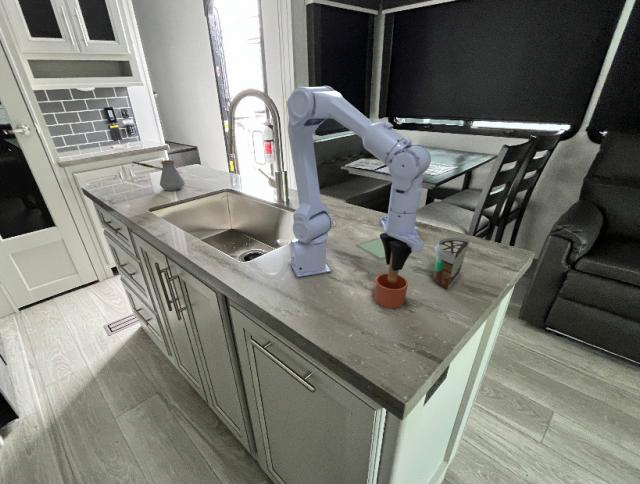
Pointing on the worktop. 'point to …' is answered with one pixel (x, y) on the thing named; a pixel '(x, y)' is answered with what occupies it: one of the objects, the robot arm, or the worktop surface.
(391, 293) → the cup
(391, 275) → the stirrer
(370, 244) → the napkin
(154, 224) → the worktop surface
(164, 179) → the coffee pot
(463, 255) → the food container
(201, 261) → the worktop surface
